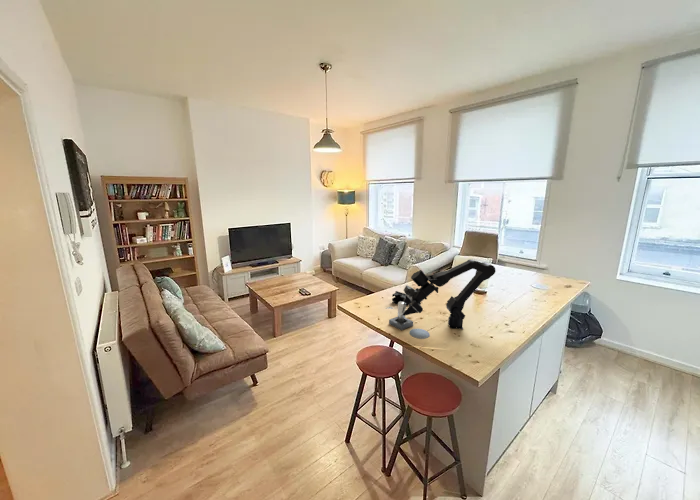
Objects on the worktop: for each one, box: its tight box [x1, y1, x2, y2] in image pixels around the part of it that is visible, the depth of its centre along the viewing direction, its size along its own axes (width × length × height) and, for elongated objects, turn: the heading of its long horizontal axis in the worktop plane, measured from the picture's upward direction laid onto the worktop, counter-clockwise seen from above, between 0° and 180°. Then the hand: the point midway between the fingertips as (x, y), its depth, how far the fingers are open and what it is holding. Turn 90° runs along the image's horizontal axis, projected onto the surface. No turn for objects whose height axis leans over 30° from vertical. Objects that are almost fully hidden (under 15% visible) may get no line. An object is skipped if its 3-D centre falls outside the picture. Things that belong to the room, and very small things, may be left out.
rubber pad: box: [409, 328, 431, 340], centre depth 144 cm, size 10×10×1 cm
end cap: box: [391, 290, 406, 306], centre depth 182 cm, size 10×7×7 cm
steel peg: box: [396, 301, 407, 324], centre depth 151 cm, size 4×4×12 cm
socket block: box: [388, 316, 414, 331], centre depth 152 cm, size 9×9×3 cm
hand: (401, 311), depth 151 cm, fingers open, 9 cm apart
